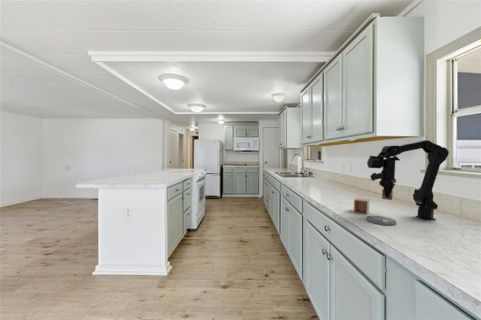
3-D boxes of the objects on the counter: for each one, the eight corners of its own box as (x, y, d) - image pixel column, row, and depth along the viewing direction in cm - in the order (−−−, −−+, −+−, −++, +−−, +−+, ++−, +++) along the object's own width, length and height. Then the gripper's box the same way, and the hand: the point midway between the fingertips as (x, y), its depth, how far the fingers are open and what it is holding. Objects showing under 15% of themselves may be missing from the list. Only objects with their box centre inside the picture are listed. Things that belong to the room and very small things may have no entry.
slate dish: (382, 217, 123) (382, 215, 123) (402, 225, 110) (402, 222, 110) (360, 217, 122) (360, 215, 122) (378, 225, 109) (378, 223, 109)
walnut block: (392, 198, 125) (392, 189, 125) (391, 200, 122) (392, 190, 121) (383, 197, 128) (383, 188, 128) (381, 198, 124) (382, 189, 124)
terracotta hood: (369, 211, 135) (369, 199, 134) (367, 214, 129) (367, 201, 129) (356, 209, 139) (356, 197, 139) (353, 212, 134) (354, 199, 133)
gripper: (374, 166, 136) (373, 192, 137) (369, 168, 122) (367, 197, 122) (396, 168, 129) (395, 195, 130) (394, 169, 115) (392, 200, 115)
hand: (387, 196), depth 125 cm, fingers closed on walnut block, 4 cm apart
